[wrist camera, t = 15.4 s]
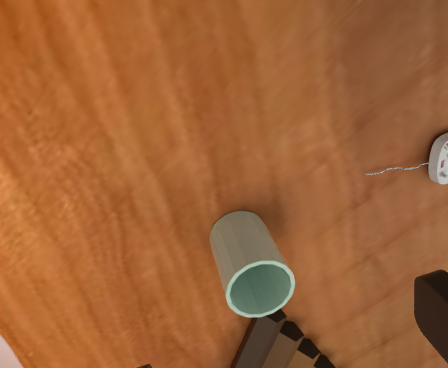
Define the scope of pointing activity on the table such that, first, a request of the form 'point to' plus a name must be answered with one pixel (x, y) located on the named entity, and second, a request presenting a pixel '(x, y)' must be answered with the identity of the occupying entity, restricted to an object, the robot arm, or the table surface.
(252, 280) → the cup
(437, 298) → the robot arm
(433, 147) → the game controller
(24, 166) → the table surface
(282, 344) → the pan flute
